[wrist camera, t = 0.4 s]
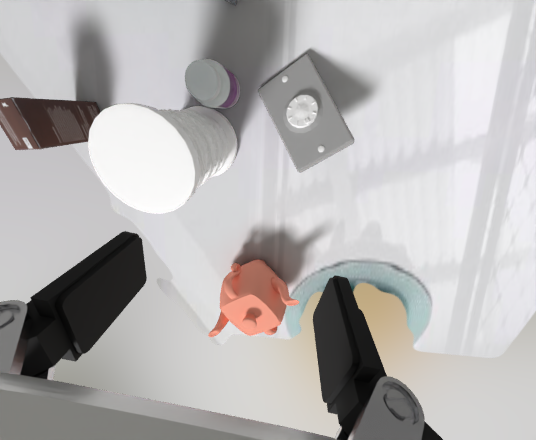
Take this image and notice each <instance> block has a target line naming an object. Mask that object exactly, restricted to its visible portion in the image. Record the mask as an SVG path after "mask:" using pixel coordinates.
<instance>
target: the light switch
mask: <svg viewBox="0 0 536 440" xmlns="http://www.w3.org/2000/svg"><path fill="white" fill-rule="evenodd" d="M258 92H259V94H260V96H261V98H262V100H263V103H264V105H265V107H266V109H267V111H268V113H269V115H270V117H271V119H272V121H273V123H274V125H275V127H276V129H277V131H278V133H279V135H280V137H281V139H282V141H283V143H284V145H285V147H286V149H287V151H288V153H289V155H290V157H291V159H292V161H293V163H294V165H295V167H296V169H297V171H298V172H299V173H301V172H303V171H305V170H307V169H309V168H310V167H312V166H314V165H316V164H318V163H319V162H321V161H323V160H325V159H327V158H328V157H330V156H332V155H334V154H335V153H337V152H339V151H341V150H343V149H344V148H346V147H348V146H350V145H352V144H353V143H354V138H353V136H352V134H351V132H350V130H349V129H348V127H347V125H346V123H345V121H344V119H343V117H342V116H341V114H340V112H339V110H338V108H337V106H336V105H335V103H334V101H333V99H332V97H331V95H330V93H329V92H328V90H327V88H326V86H325V84H324V82H323V81H322V79H321V77H320V75H319V73H318V71H317V70H316V68H315V66H314V64H313V62H312V60H311V58H310V57H309V55H308V54H305V55H304V56H303V57H301V58H300V59H299V60H297V61H296V62H295V63H293V64H292V65H291V66H289V67H288V68H286V69H285V70H284V71H282V72H281V73H280V74H278V75H277V76H276V77H274V78H273V79H272V80H270V81H269V82H268V83H266V84H265V85H264V86H262V87H261V88H260V89H259V90H258Z"/></svg>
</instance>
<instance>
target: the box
mask: <svg viewBox="0 0 536 440" xmlns="http://www.w3.org/2000/svg"><path fill="white" fill-rule="evenodd" d="M99 114H100V111H99V109H98V106H97V104H96V102H86V101H68V100H49V99H30V98H14V97H11V98H4V99H0V125H1V127H2V129H3V130H4V132H5V133H6V135H7V136H8V138H9V140H10V142H11V143H12V145H13V147H14V148H15V150H26V149H43V148H49V147H56V146H63V145H69V144H75V143H81V142H88V139H89V130H90V128H91V126H92V123H93V121H94V119H95V118H96V117H97V116H98V115H99Z"/></svg>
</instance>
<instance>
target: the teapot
mask: <svg viewBox="0 0 536 440" xmlns="http://www.w3.org/2000/svg"><path fill="white" fill-rule="evenodd" d="M231 270H232V272H230V273H229V274H228V275H227V276H226V277H225V278H224V281H223V284H222V288H221V294H220V309H221V313H220V317H219V320H218V322H217V324H216V326H215V328H214V329H213V330H212V331H211V332H210V333H209V337H214V336H216V335H217V334H219V333H220V332H221V330H222V329H223V328H224V327H225V325H226V324H227V322H228V321H229V320H230V322H231V323H232V324H234V325H235V326H236V327H237V328H238V329H240V330H241V331H242V332H244V333H245V334H247V335H249V336H251V335H255V334H258V333H261V332H265V333H266V334H267V335H272V334H274V333H276V331H277V326H279V325H280V324H281V322H282V319H283V316H284V313H285V309H286V305H289V306H292V305H297V304H298V303H299V301H298V300H294V299H291V298H290V297H289V292H288V288H287V285H286V284H285V282H284V281H283V280H281V279H279V278H278V276H277V275H276V274H275V272H274V271H273V270H272V269H271V268H270V267H269V266H267V265H266V263H265V262H264V261H263V260H259V259H256V260H253V261H251V262H249V263H246V264H244V265H242V266H240V265H239V264H238V263H234V264H233V265H232V266H231Z"/></svg>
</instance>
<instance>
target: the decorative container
mask: <svg viewBox="0 0 536 440" xmlns="http://www.w3.org/2000/svg"><path fill="white" fill-rule="evenodd" d="M88 147H89V153H90V159H91V161H92V164H93V166H94V168H95V171H96V173H97V175H98V176H99V178H100V179H101V181H102V182H103V184H104V185H105V186H106V187H107V188H108V189H109V190H110V191H111V192H112V193H113V194H114V196H116V197H117V198H118V199H120V200H121V201H123V202H124V203H125V204H127V205H129V206H131V207H133V208H135V209H137V210H140V211H144V212H148V213H167V212H171V211H174V210H176V209H177V208H179V207H181V206H182V205H184V204H185V203H186V202H187V201H188V200H189V199H190V198H191V197H192V195H193V194H194V193H195V191H196V190H197V189H198V187H199V186H201V185H203V184H204V183H205V182H206V181H207V180H208V179H210V178H211V177H213V176H217V175H220V174H222V173H223V172H225V171H226V170H227V169H228V168H229V167H230V166H231V165H232V164H233V162H234V160H235V158H236V155H237V148H238V145H237V137H236V134H235V131H234V128H233V127H232V125H231V124H230V122H229V120H228V119H227V118H226V117H225V116H224V115H222V114H221V113H220V112H218V111H216V110H215V109H212V108H209V107H205V106H192V107H190V108H187V109H184V110H180V111H179V110H158V109H156V108H153V107H149V106H146V105H142V104H133V103H129V104H115V105H113V106H111V107H108V108H106V109H104V110H103V111H102V112H101V113H100V114H99V115H98V116H97V117H96V118H95V119H94V121H93V123H92V126H91V128H90V130H89V139H88Z"/></svg>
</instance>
